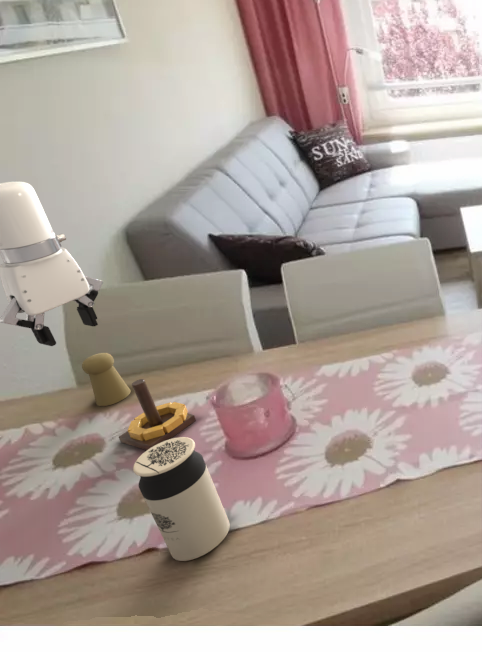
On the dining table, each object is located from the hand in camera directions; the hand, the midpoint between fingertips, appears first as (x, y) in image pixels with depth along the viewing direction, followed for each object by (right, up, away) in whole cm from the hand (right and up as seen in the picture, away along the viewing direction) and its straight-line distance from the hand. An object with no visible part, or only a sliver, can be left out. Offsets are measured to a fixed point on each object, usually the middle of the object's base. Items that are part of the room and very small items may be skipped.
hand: (70, 333), depth 103 cm
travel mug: (+38, -30, -16) cm, 51 cm away
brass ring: (+11, -20, +8) cm, 24 cm away
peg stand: (+11, -22, +8) cm, 26 cm away
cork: (-8, -18, +19) cm, 27 cm away
